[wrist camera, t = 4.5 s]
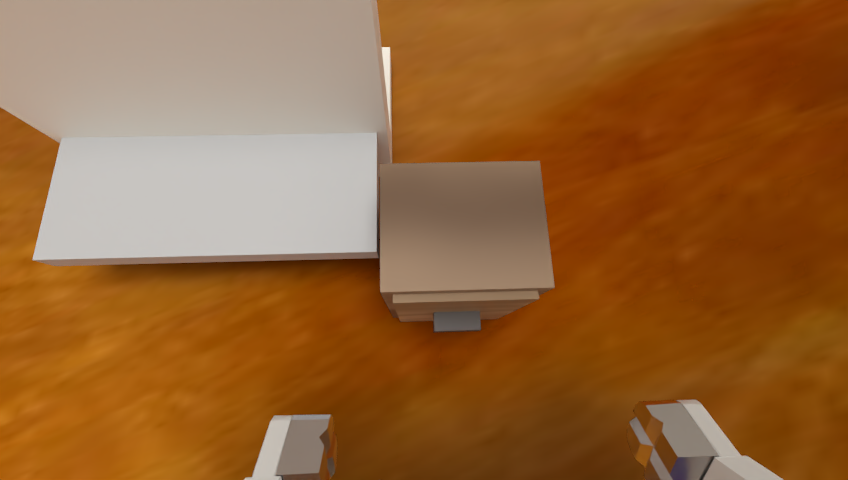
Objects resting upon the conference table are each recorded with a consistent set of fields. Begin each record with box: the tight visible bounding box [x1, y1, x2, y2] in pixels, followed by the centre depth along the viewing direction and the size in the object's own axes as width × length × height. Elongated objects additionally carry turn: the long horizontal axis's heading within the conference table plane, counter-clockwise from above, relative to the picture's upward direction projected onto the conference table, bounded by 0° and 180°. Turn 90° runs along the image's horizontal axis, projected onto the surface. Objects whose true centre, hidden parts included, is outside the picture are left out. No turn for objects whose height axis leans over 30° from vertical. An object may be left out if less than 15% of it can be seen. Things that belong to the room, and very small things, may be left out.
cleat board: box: [0, 0, 392, 266], centre depth 16 cm, size 14×16×18 cm
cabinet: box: [380, 161, 555, 332], centre depth 19 cm, size 6×6×9 cm
